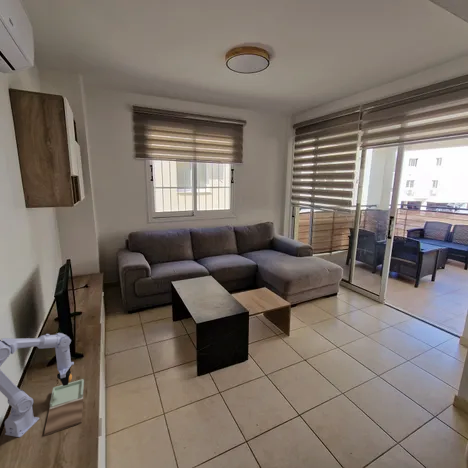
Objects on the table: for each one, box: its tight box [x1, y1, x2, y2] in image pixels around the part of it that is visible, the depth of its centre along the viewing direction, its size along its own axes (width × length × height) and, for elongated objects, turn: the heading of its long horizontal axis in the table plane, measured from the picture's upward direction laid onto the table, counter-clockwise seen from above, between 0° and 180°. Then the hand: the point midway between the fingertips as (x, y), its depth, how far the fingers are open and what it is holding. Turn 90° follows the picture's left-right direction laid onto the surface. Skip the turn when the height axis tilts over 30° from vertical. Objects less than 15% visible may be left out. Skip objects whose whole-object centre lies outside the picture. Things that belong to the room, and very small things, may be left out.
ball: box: [60, 373, 73, 384], centre depth 132 cm, size 5×5×5 cm
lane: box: [43, 388, 85, 437], centre depth 127 cm, size 27×14×1 cm, turn 27°
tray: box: [49, 378, 85, 408], centre depth 134 cm, size 12×14×2 cm
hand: (66, 381), depth 132 cm, fingers closed on ball, 5 cm apart
